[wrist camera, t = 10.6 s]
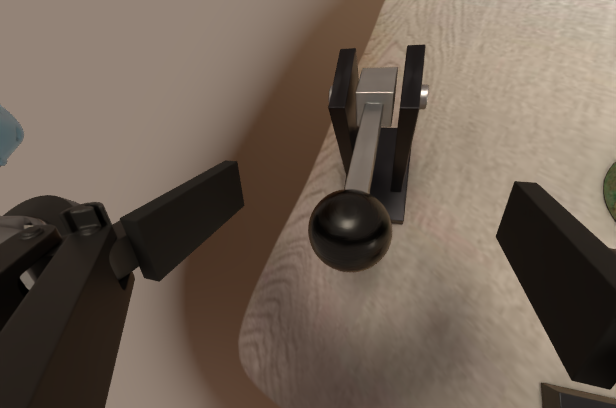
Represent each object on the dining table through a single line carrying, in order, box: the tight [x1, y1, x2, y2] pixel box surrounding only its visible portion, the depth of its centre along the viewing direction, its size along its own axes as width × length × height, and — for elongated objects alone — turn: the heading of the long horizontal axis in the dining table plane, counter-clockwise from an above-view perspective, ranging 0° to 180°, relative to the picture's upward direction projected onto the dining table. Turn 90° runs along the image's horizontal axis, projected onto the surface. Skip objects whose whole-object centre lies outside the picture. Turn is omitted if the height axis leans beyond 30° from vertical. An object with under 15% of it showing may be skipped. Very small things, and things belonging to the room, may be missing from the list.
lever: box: [308, 67, 398, 272], centre depth 14 cm, size 13×4×4 cm, turn 168°
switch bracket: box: [328, 45, 429, 224], centre depth 22 cm, size 10×6×14 cm, turn 168°
